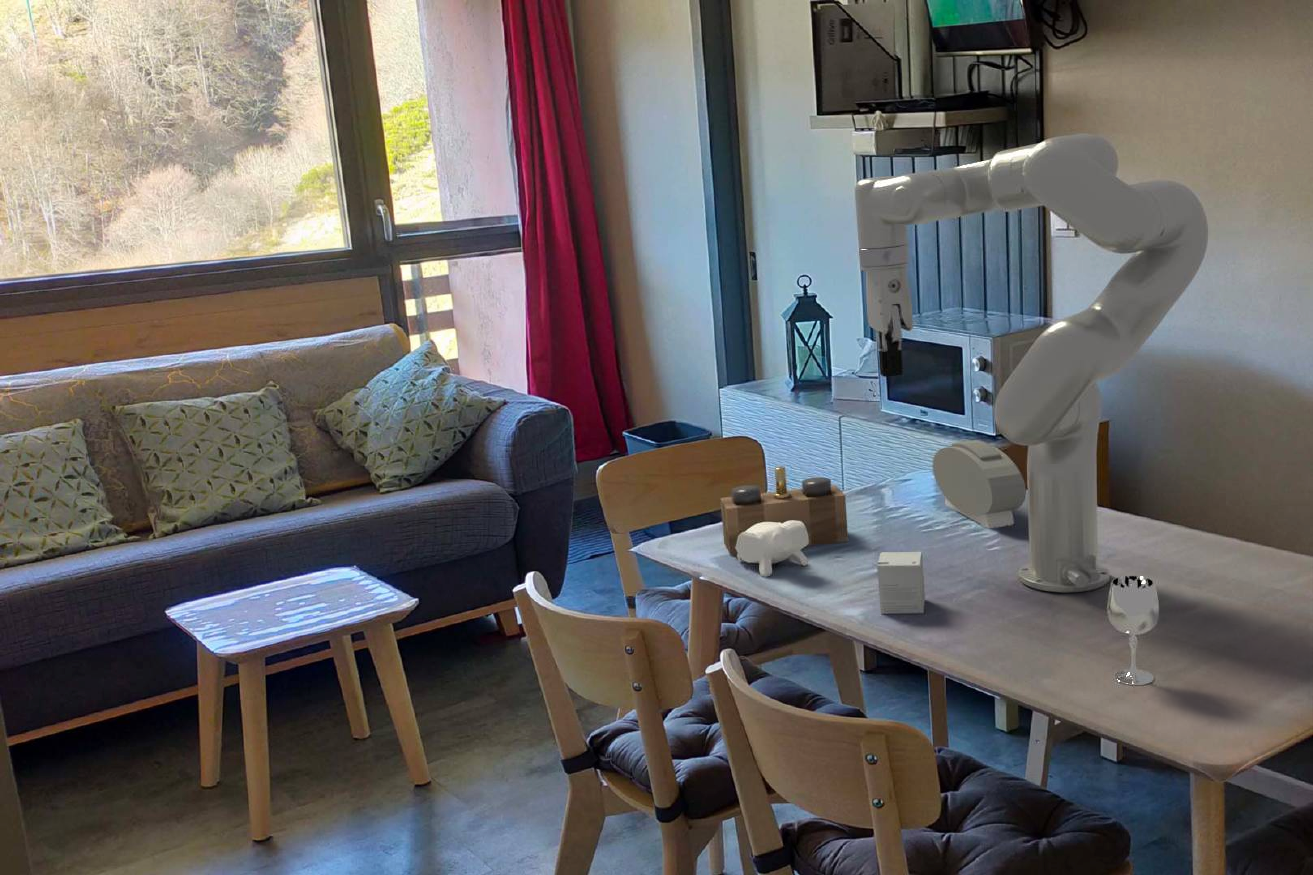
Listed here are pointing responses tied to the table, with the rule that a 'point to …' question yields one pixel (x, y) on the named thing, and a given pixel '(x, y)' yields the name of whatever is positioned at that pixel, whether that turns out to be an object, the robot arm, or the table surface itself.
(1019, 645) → the table surface
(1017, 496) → the alarm clock
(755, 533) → the white piece
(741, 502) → the dark grey rounded lump
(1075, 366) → the robot arm
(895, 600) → the skincare box
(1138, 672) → the wineglass
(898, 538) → the table surface
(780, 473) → the brass door knob
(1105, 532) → the table surface
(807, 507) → the walnut mount
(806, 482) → the knob
